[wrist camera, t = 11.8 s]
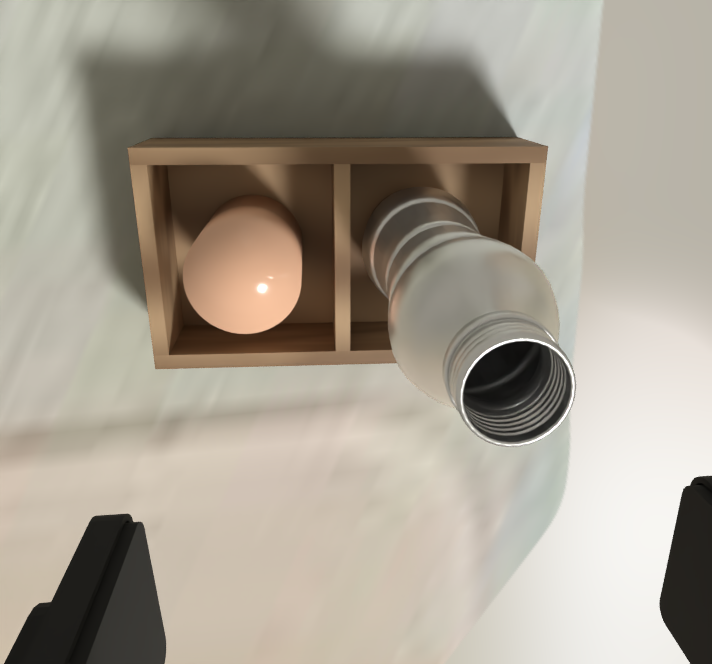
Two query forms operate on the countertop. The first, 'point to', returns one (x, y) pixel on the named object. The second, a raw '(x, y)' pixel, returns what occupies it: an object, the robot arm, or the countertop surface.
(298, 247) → the peach colored egg
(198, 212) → the crate
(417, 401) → the countertop surface
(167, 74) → the countertop surface
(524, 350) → the grey metal bottle
